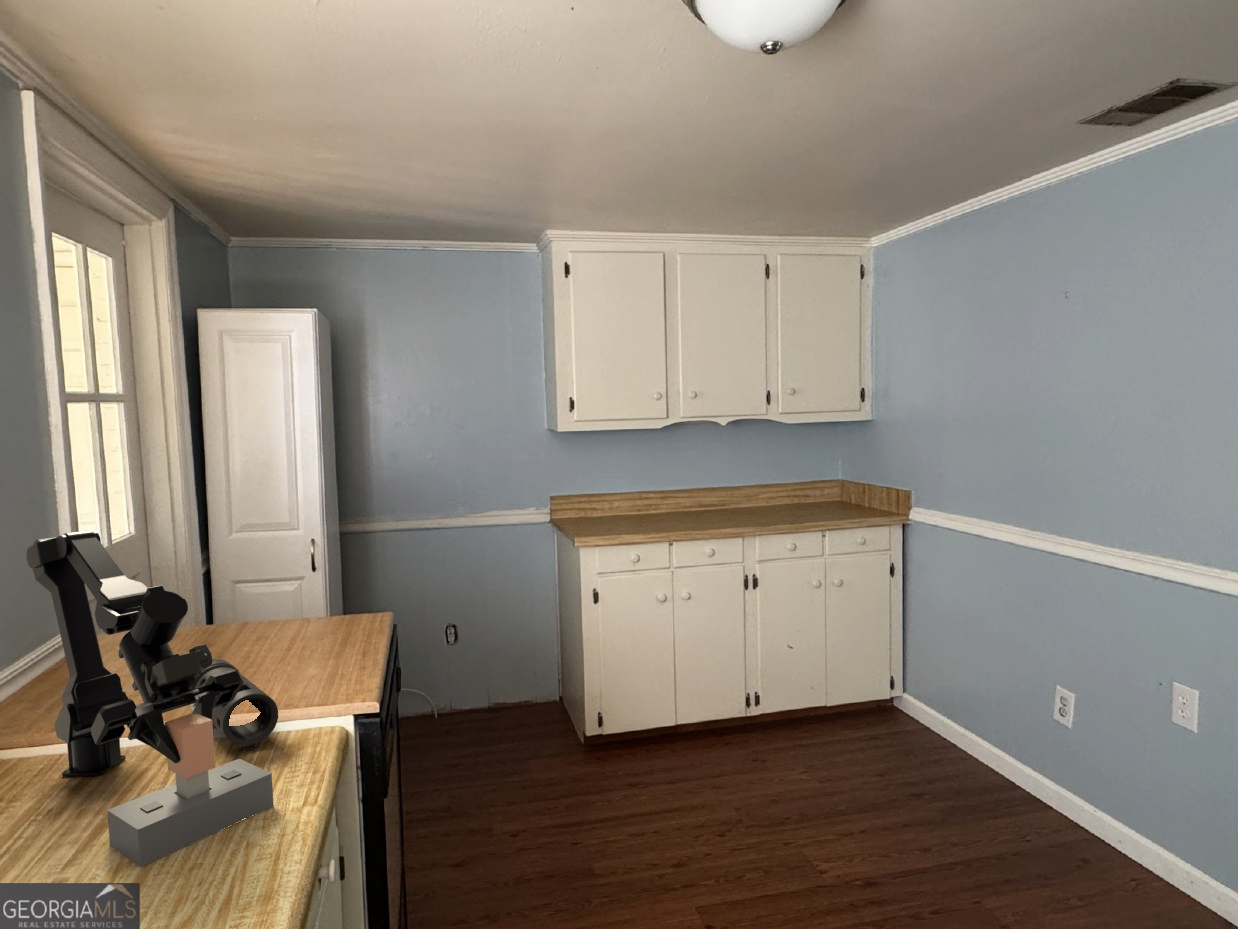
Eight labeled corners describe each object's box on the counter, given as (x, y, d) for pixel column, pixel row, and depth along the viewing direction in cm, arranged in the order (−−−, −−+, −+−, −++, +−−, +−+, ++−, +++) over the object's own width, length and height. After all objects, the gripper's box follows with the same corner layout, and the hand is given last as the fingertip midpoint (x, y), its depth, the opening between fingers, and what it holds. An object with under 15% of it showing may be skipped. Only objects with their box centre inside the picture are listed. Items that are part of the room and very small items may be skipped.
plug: (169, 798, 107) (164, 722, 106) (199, 787, 110) (194, 712, 110) (187, 808, 104) (182, 730, 104) (216, 796, 108) (212, 720, 107)
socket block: (109, 846, 103) (107, 808, 103) (241, 790, 118) (238, 757, 117) (140, 867, 98) (137, 828, 97) (273, 806, 112) (271, 772, 112)
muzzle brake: (223, 760, 128) (219, 700, 128) (183, 714, 149) (179, 662, 149) (282, 743, 135) (278, 685, 134) (235, 701, 156) (232, 651, 155)
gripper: (93, 648, 101) (137, 750, 95) (234, 616, 116) (278, 702, 110) (73, 695, 106) (113, 794, 100) (210, 658, 121) (252, 742, 115)
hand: (194, 755), depth 106 cm, fingers closed on plug, 4 cm apart
